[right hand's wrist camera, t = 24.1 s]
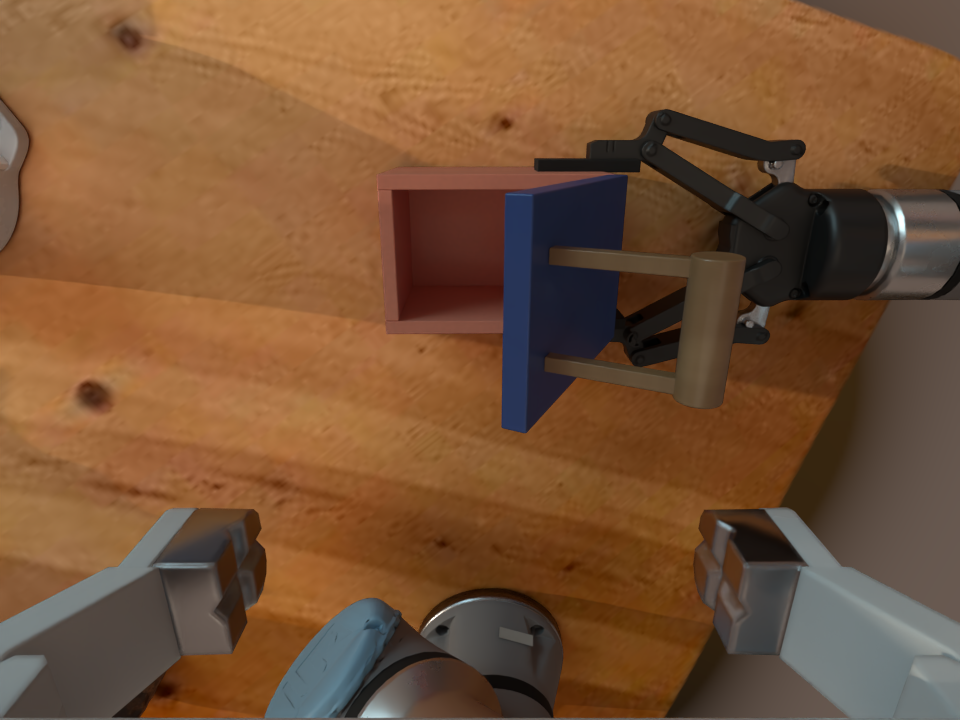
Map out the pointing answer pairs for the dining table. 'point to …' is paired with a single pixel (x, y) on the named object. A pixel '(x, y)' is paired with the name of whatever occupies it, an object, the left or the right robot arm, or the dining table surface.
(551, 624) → the left robot arm
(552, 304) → the lid
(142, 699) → the decorative rock
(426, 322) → the chest
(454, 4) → the dining table surface
